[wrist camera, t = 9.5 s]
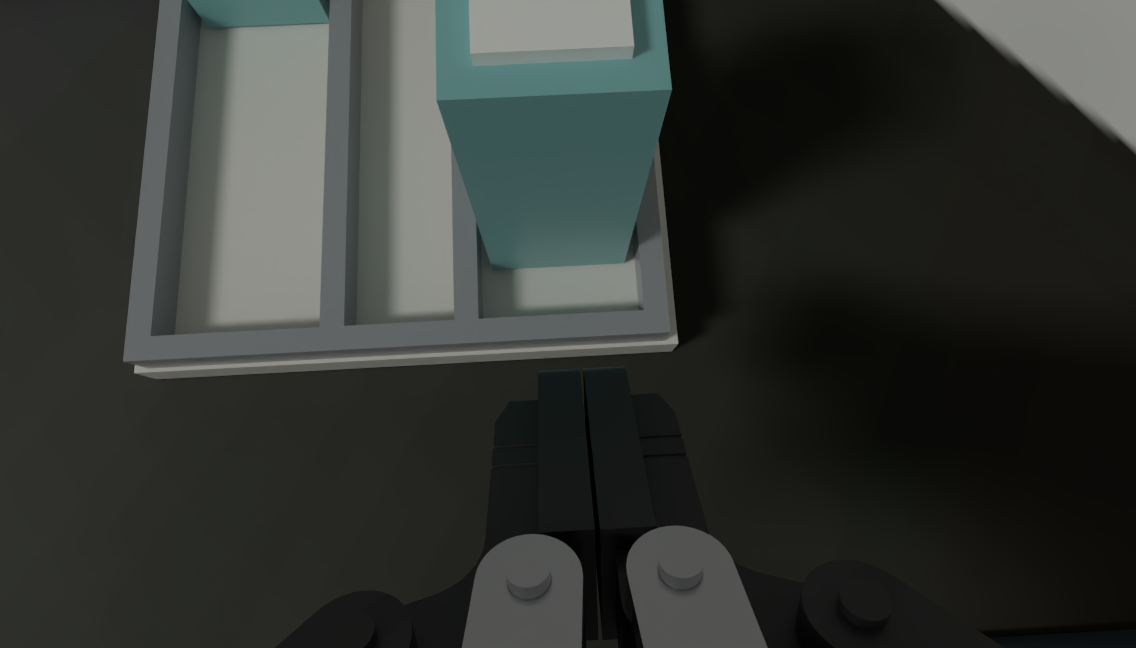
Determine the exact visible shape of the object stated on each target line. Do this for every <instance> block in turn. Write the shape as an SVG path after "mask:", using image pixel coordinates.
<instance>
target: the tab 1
mask: <svg viewBox="0 0 1136 648" xmlns="http://www.w3.org/2000/svg"><path fill="white" fill-rule="evenodd" d="M188 2H189V3H190V4H191V5H192V7H193V8H194V9H195V11H196V12H197V13H198V14H199V16H200V17H201V18H202V20H203V21H204V22H205V23H206V25H207V26H208V27H209V28H218V27H241V26H263V25H286V24H309V23H329V13H330V0H188Z"/></svg>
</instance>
